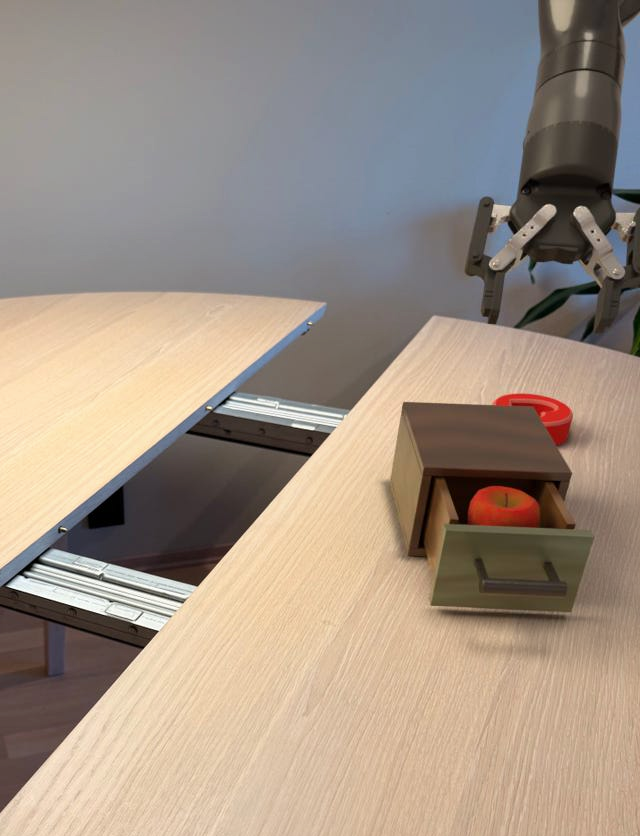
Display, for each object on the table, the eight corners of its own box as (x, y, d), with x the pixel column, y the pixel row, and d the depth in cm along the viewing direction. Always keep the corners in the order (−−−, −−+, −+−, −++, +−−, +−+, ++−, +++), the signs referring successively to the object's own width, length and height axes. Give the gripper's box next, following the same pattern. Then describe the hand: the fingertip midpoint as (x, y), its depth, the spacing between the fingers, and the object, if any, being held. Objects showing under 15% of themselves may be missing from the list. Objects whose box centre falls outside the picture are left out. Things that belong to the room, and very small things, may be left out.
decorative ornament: (496, 410, 128) (501, 387, 126) (573, 424, 125) (579, 401, 123) (479, 437, 121) (484, 413, 120) (559, 453, 118) (566, 429, 116)
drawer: (585, 643, 85) (611, 565, 80) (438, 636, 86) (455, 558, 81) (533, 532, 101) (552, 461, 96) (409, 526, 101) (422, 456, 97)
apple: (532, 558, 94) (551, 488, 90) (517, 588, 90) (536, 516, 85) (467, 541, 97) (482, 472, 92) (449, 570, 92) (465, 499, 88)
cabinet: (547, 562, 98) (572, 473, 92) (407, 555, 98) (423, 467, 93) (513, 488, 110) (533, 406, 105) (389, 483, 111) (402, 401, 105)
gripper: (490, 113, 81) (464, 294, 79) (674, 121, 78) (652, 309, 76) (477, 170, 88) (452, 338, 86) (645, 179, 86) (624, 353, 83)
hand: (546, 324), depth 81 cm, fingers open, 8 cm apart
